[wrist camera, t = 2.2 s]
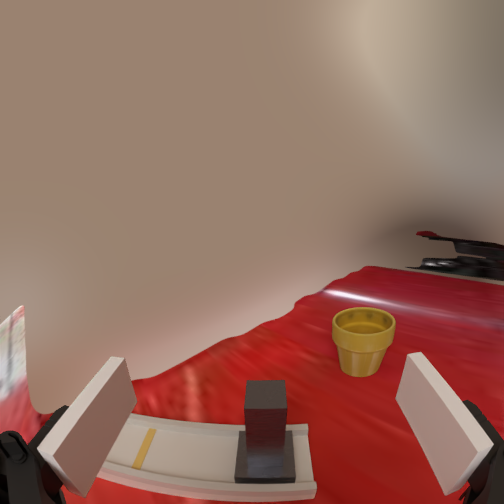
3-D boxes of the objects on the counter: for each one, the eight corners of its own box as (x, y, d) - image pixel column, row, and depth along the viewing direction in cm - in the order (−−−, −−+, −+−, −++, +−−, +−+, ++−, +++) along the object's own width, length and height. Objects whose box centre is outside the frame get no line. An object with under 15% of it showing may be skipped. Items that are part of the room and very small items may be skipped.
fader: (235, 483, 22) (227, 420, 20) (239, 437, 29) (234, 371, 27) (294, 483, 22) (304, 419, 20) (291, 437, 29) (296, 370, 26)
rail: (85, 472, 22) (75, 457, 21) (113, 424, 32) (107, 408, 31) (313, 501, 21) (317, 488, 20) (305, 439, 31) (307, 423, 30)
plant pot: (350, 394, 38) (357, 340, 36) (319, 363, 48) (320, 314, 46) (399, 373, 41) (408, 322, 39) (365, 349, 51) (369, 302, 49)
